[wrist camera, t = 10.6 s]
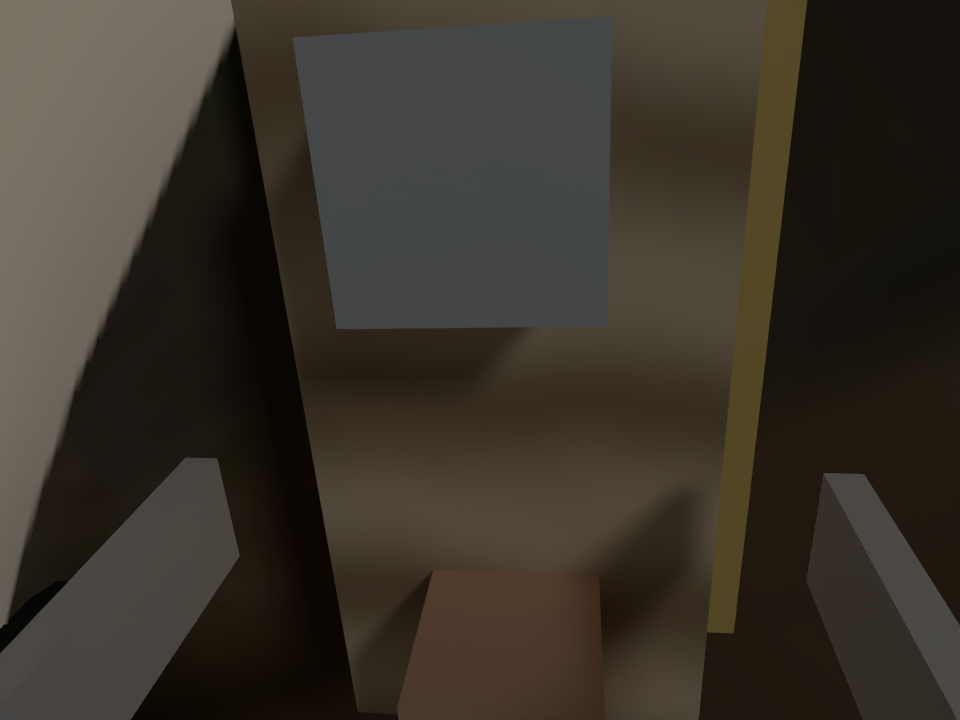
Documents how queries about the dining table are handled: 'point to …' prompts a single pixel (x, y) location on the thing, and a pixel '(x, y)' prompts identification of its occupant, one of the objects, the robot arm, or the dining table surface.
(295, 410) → the dining table surface
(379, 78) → the grey cube
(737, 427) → the dock
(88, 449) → the dining table surface
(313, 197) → the board
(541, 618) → the block
